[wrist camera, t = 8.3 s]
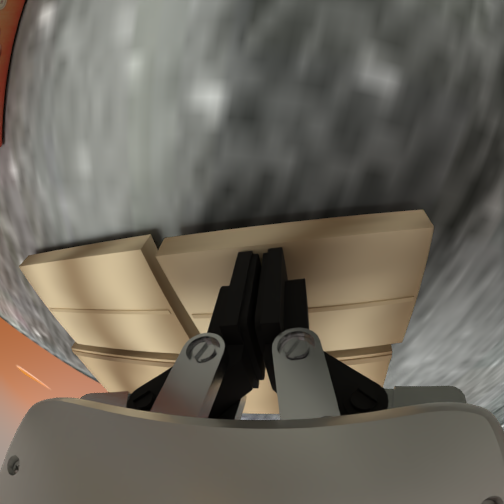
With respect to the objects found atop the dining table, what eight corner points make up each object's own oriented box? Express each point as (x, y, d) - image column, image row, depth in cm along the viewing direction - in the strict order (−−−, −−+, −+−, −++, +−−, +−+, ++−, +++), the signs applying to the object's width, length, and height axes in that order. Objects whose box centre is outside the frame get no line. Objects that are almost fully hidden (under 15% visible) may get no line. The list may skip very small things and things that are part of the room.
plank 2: (423, 209, 10) (434, 228, 9) (398, 325, 15) (402, 343, 14) (164, 237, 12) (154, 257, 11) (217, 338, 17) (214, 355, 16)
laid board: (388, 336, 16) (392, 352, 14) (375, 393, 19) (376, 407, 18) (77, 338, 21) (70, 348, 20) (116, 386, 24) (111, 396, 23)
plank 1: (150, 234, 13) (140, 250, 12) (203, 338, 18) (198, 355, 17) (28, 255, 15) (18, 267, 14) (83, 332, 20) (77, 344, 19)
